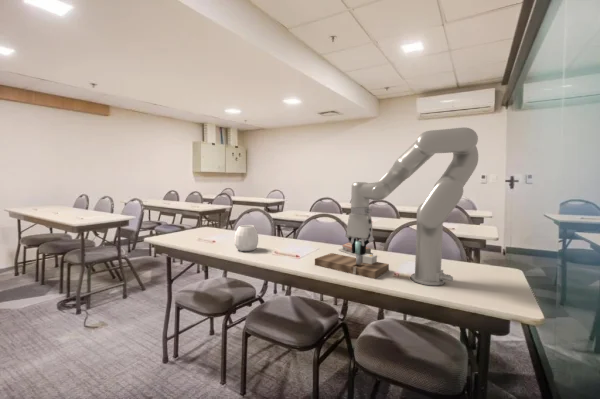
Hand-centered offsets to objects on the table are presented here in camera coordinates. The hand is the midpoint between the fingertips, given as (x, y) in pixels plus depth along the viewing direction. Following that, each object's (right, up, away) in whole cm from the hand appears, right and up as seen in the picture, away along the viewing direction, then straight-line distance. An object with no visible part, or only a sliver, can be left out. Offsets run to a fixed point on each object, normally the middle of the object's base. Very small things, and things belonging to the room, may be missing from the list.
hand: (358, 253), depth 130 cm
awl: (0, -5, 0) cm, 5 cm away
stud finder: (+5, -5, +5) cm, 9 cm away
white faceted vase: (-55, -5, +40) cm, 68 cm away
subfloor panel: (-2, -8, +7) cm, 11 cm away
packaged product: (+5, -7, +35) cm, 36 cm away
